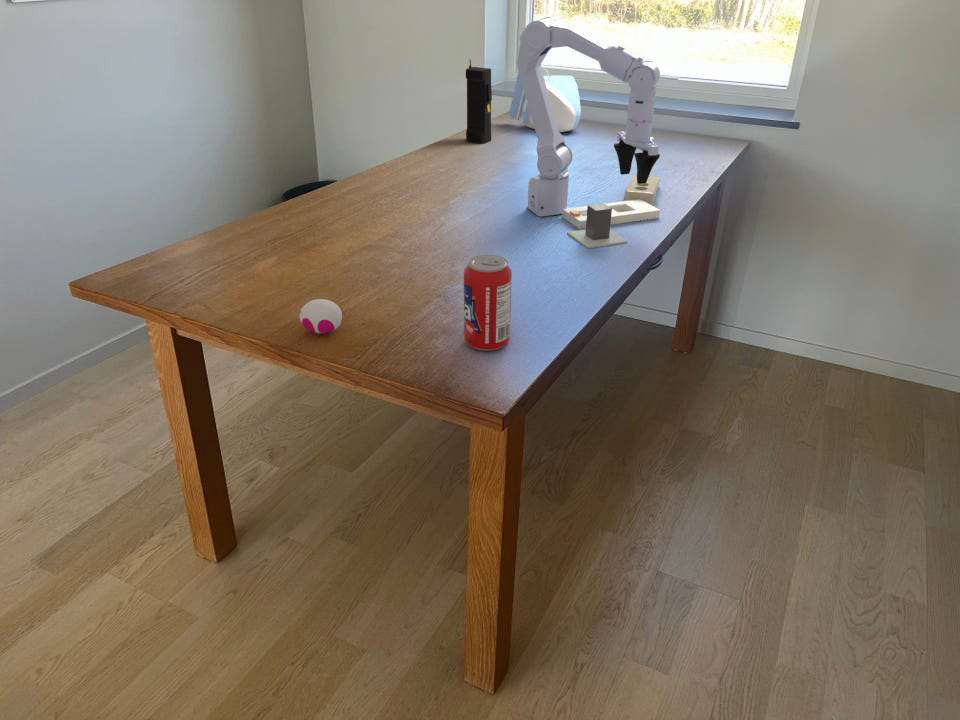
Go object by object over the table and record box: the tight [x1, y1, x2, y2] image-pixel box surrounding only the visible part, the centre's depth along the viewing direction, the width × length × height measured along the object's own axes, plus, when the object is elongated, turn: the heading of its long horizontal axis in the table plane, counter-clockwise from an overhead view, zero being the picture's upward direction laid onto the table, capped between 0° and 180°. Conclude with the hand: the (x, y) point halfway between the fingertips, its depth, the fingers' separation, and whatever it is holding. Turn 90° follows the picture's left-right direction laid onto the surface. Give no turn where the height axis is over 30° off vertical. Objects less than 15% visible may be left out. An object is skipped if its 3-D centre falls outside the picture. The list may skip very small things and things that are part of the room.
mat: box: [566, 228, 628, 250], centre depth 172 cm, size 10×10×1 cm
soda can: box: [463, 254, 513, 352], centre depth 125 cm, size 8×8×15 cm
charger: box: [585, 202, 612, 240], centre depth 170 cm, size 4×4×7 cm
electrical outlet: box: [624, 174, 661, 206], centre depth 197 cm, size 7×4×18 cm
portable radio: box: [465, 60, 493, 144], centre depth 241 cm, size 8×6×25 cm
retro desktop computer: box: [508, 67, 582, 133], centre depth 257 cm, size 25×23×16 cm
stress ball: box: [299, 298, 343, 334], centre depth 131 cm, size 8×8×7 cm
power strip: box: [561, 199, 661, 230], centre depth 183 cm, size 22×9×3 cm, turn 111°
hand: (633, 178), depth 177 cm, fingers open, 7 cm apart
